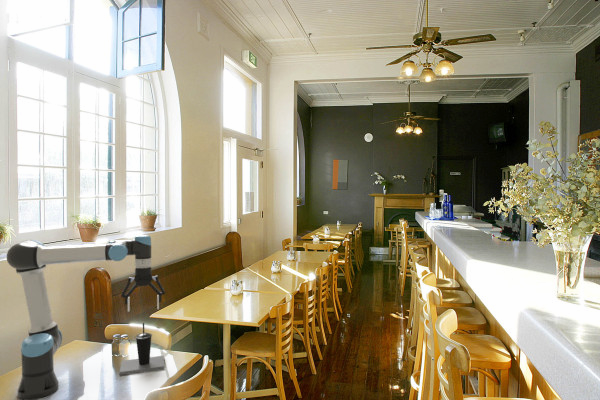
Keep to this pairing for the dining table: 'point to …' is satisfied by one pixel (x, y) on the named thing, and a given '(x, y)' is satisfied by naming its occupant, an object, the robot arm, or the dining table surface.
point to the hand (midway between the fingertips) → (143, 309)
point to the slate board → (135, 367)
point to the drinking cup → (143, 347)
